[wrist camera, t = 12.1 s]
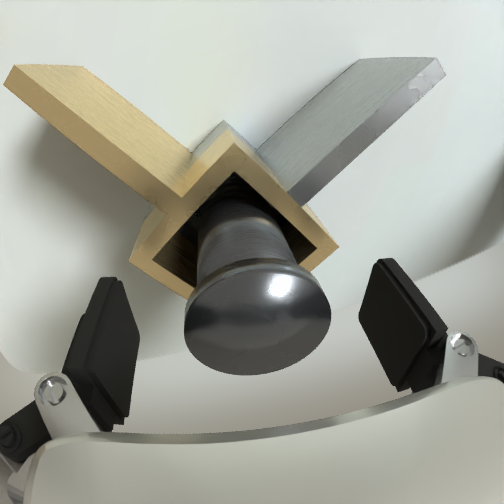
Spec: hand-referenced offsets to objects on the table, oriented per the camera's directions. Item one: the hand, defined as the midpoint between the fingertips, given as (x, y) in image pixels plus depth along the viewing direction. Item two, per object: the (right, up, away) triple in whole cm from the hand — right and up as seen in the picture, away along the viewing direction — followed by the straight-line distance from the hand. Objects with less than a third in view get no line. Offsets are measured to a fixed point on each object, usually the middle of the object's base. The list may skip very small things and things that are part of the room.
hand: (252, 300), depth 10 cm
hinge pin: (-2, +6, +9) cm, 11 cm away
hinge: (-2, +12, +6) cm, 13 cm away
